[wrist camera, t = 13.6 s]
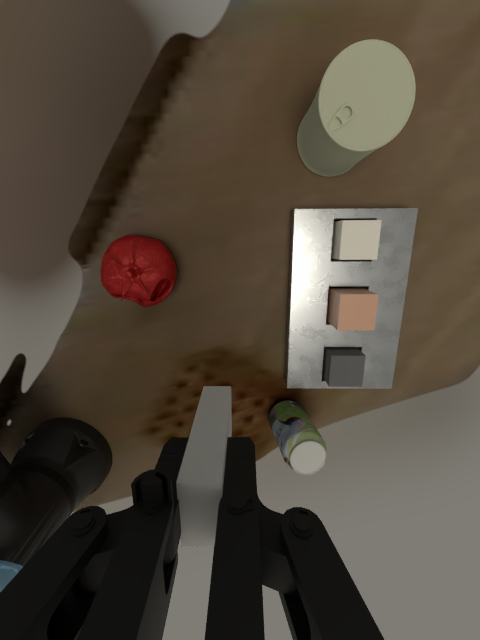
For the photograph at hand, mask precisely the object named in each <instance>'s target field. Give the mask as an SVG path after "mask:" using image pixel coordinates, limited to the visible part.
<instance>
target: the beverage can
mask: <svg viewBox="0 0 480 640" xmlns="http://www.w3.org/2000/svg"><path fill="white" fill-rule="evenodd" d="M269 423H270V426H271V428H272V431H273V433H274V436H275V438H276V441H277V443H278V446H279V448H280V451H281V453H282V456H283V458H284V461H285V462H286V464H287V465H288V466H289V467H290V468H291V469H293V470H295V471H296V472H297V473H299V474H303V475H310V474H313V473H315V472H317V471H318V470H320V469H321V468H322V467H323V465H324V463H325V461H326V444H325V441H324V440H323V438H322V437H321V435H320V434H319V432H318V431H317V429H316V428H315V426H314V425H313V423H312V422H311V420H310V419H309V417H308V416H307V415H306V413H305V412H304V410H303V409H302V407H301V406H300V405H299V404H298V403H296V402H294V401H289V400H287V401H282V402H279V403H278V404H276V405H275V406H274V407H273V408H272V410H271V411H270V414H269Z"/></svg>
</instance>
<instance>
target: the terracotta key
mask: <svg viewBox="0 0 480 640" xmlns="http://www.w3.org/2000/svg"><path fill="white" fill-rule="evenodd" d="M378 295H379V294H377V293H374V292H372V291H369V290H367V289H364V288H329V300H328V313H327V321H328V322H329V323H330V324H331V325H332V326H333V327H334V328H335V329H336V330H374V328H375V320H376V312H377V304H378Z"/></svg>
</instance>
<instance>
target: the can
mask: <svg viewBox="0 0 480 640" xmlns="http://www.w3.org/2000/svg"><path fill="white" fill-rule="evenodd" d="M415 90H416V88H415V77H414V73H413V70H412V67H411V65H410V63H409V61H408V59H407V58H406V56H405V55H404V54H403V53H402V52H401V51H400V50H399V49H398V48H397V47H395V46H394V45H392V44H390V43H388V42H386V41H382V40H374V39H371V40H363V41H360V42H357V43H354V44H352V45H350V46H349V47H347V48H346V49H344V50H343V51H342V52H340V53H339V54H338V55H337V56H336V57H335V59H334V60H333V61H332V62H331V64H330V65H329V67H328V68H327V70H326V72H325V74H324V76H323V78H322V81H321V84H320V87H319V89H318V91H317V93H316V96H315V98H314V100H313V102H312V104H311V106H310V108H309V110H308V112H307V113H306V114H305V116H304V118H303V119H302V121H301V124H300V126H299V130H298V135H297V147H298V152H299V155H300V157H301V159H302V161H303V163H304V164H305V166H306V167H307V168H308V169H309V170H311V171H312V172H314V173H316V174H318V175H320V176H325V177H333V176H338V175H341V174H343V173H345V172H347V171H349V170H350V169H351V168H352V167H354V166H355V165H356V163H358V162H359V161H360V160H362V159H363V158H365V157H366V156H367V155H369V154H370V153H372V152H373V151H375V150H376V149H378V148H380V147H382V146H384V145H385V144H387V143H388V142H390V141H391V140H392V139H393V138H394V137H395V136H396V135H397V134H398V133H399V132H400V131H401V130H402V128H403V127H404V125H405V124H406V122H407V120H408V118H409V116H410V114H411V111H412V108H413V105H414V100H415Z"/></svg>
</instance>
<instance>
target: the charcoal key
mask: <svg viewBox="0 0 480 640" xmlns="http://www.w3.org/2000/svg"><path fill="white" fill-rule="evenodd" d="M365 358H366V355H364V354H363V353H362V352H361V351H360V350H359V349H358V348H357V347H324V355H323V368H322V376H323V378H324V379H325V381H326V383H327V384H328V386H329V387H362V384H363V375H364V367H365Z"/></svg>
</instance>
